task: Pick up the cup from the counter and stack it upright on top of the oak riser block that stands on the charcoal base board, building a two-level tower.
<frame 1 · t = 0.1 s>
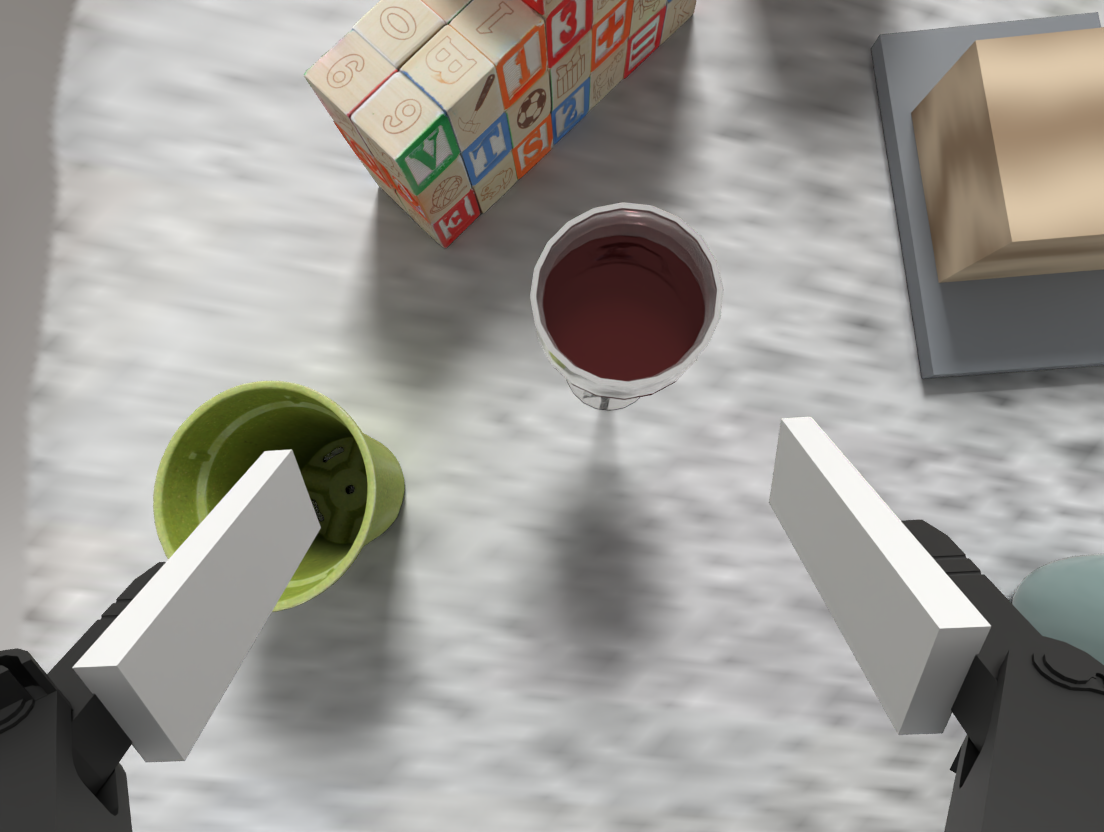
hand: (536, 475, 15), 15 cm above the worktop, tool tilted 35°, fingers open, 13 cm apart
wineglass: (608, 367, 31), on the worktop
cup: (1056, 618, 28), on the worktop
stack of blocks: (537, 102, 33), on the worktop
base board: (1004, 197, 30), on the worktop
oak riser: (1018, 187, 29), point 1 cm above the worktop, touching base board
plant pot: (353, 490, 31), on the worktop
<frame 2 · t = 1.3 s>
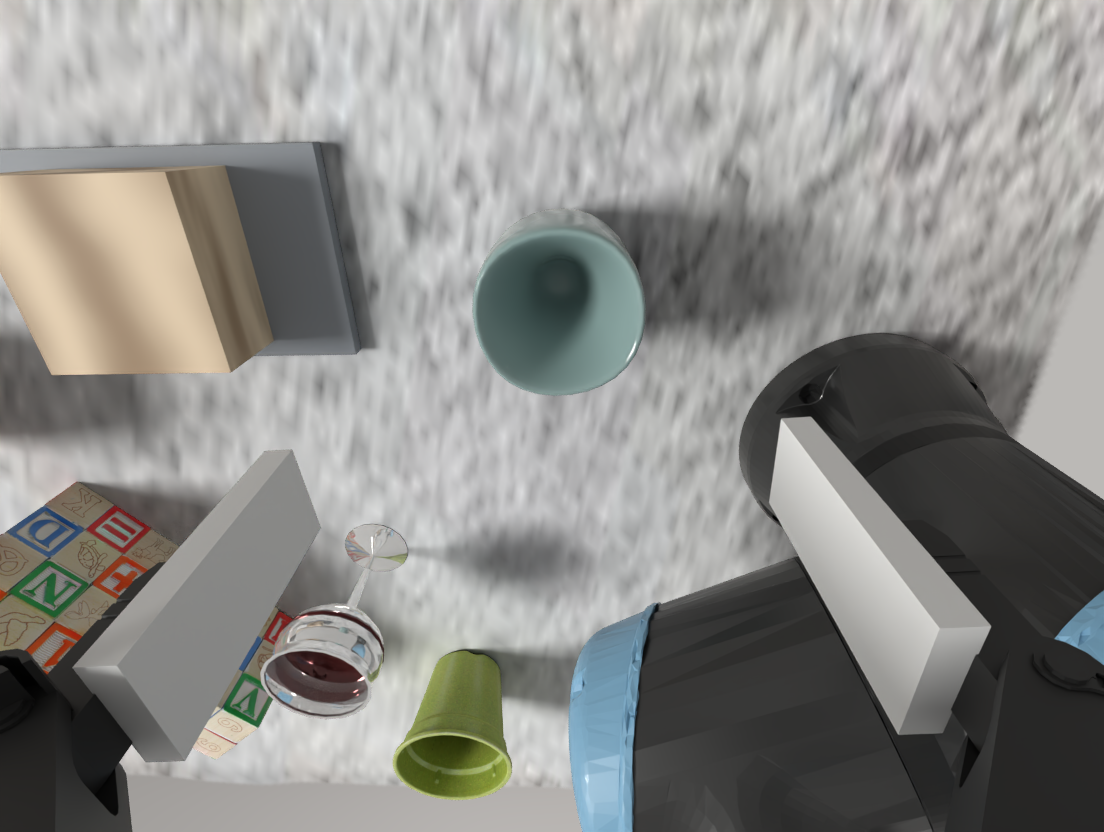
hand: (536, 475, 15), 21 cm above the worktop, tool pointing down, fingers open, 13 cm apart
wineglass: (377, 546, 43), on the worktop
cup: (559, 266, 33), on the worktop
stack of blocks: (185, 575, 45), on the worktop
base board: (177, 257, 32), on the worktop
oak riser: (167, 261, 31), point 1 cm above the worktop, touching base board
plant pot: (469, 669, 50), on the worktop
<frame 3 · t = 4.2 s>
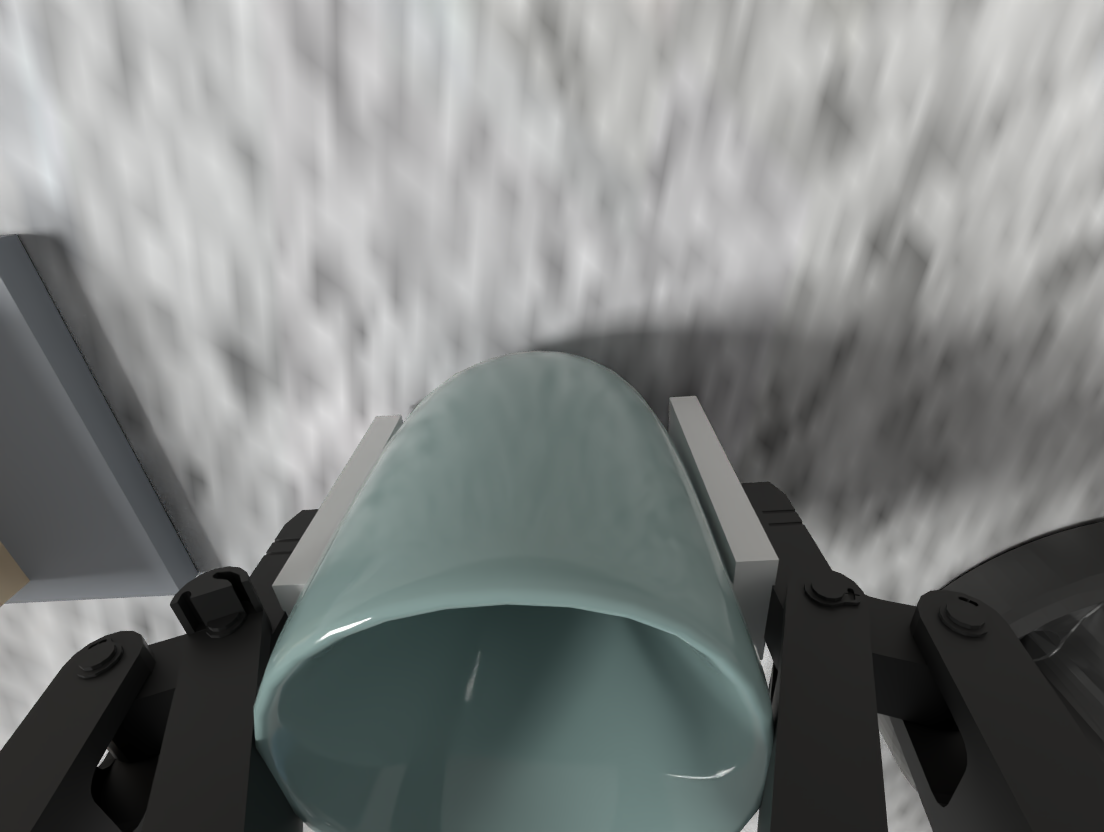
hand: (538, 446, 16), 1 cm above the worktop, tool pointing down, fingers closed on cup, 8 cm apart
cup: (539, 430, 17), on the worktop, touching gripper
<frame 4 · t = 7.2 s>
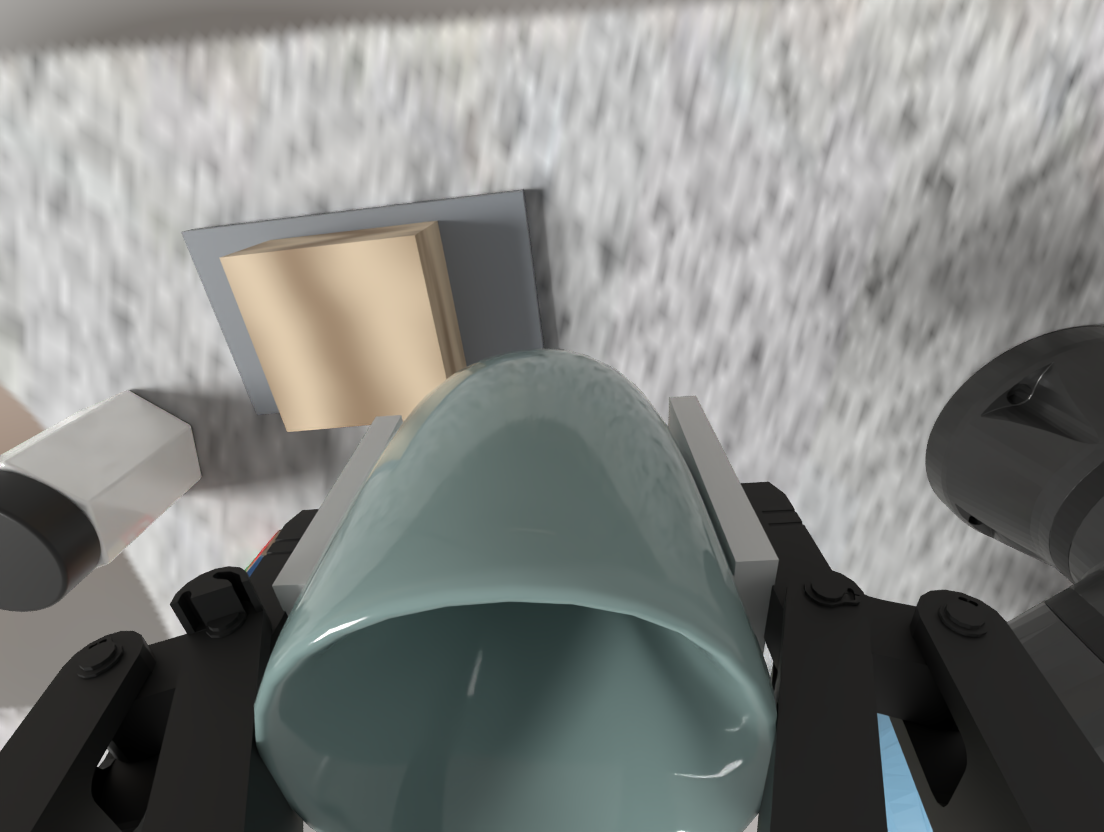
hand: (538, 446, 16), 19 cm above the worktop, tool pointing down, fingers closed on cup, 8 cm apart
cup: (540, 429, 17), point 18 cm above the worktop, touching gripper
base board: (380, 310, 34), on the worktop
oak riser: (375, 315, 33), point 1 cm above the worktop, touching base board
jar: (145, 442, 39), on the worktop
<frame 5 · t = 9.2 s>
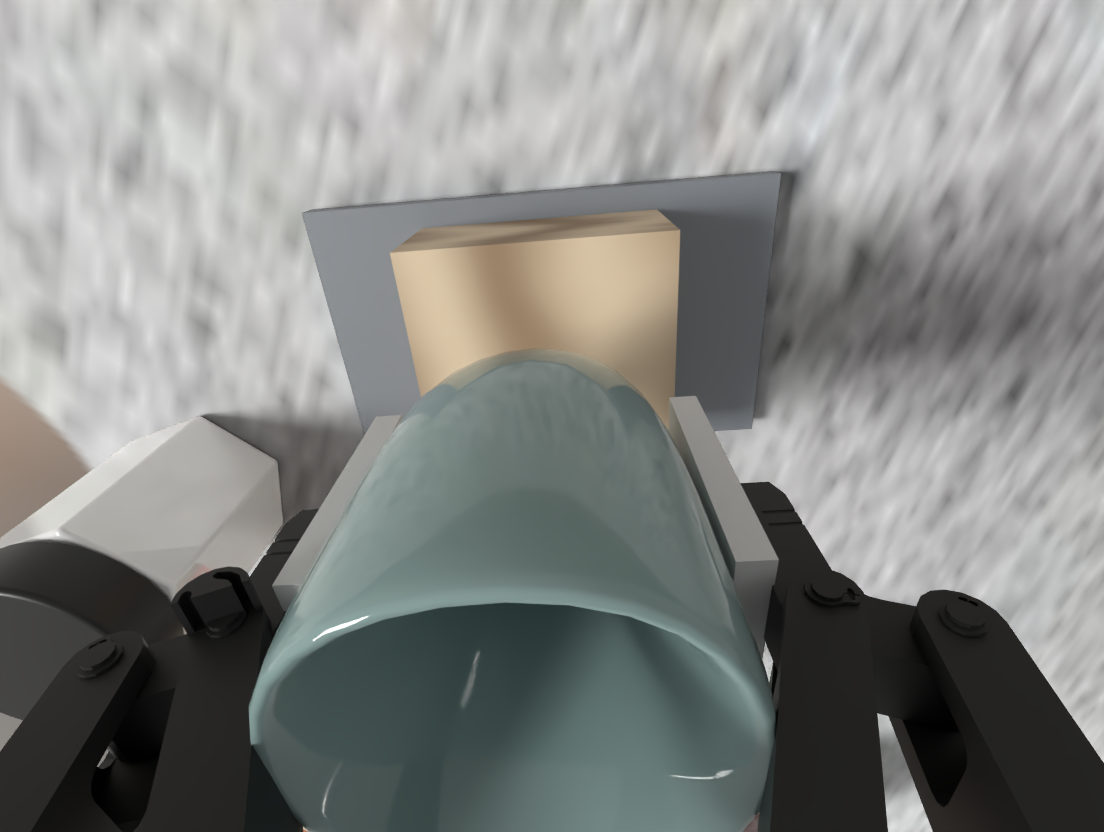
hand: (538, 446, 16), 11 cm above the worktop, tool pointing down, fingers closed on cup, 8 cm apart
cup: (539, 429, 17), point 10 cm above the worktop, touching gripper
base board: (548, 324, 26), on the worktop
oak riser: (547, 331, 25), point 1 cm above the worktop, touching base board
jar: (214, 479, 31), on the worktop
when the fingers open (9 cm above the worktop, at t = 10.5 s): cup drops 2 cm, resting on oak riser.
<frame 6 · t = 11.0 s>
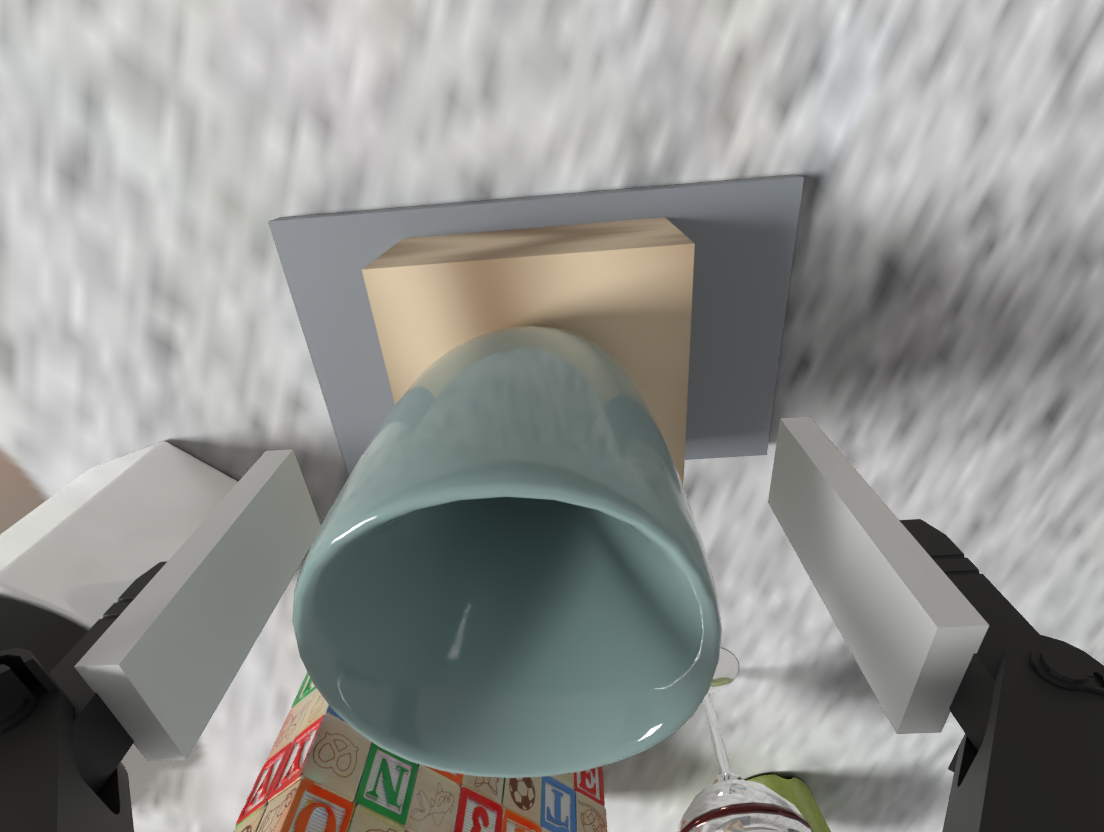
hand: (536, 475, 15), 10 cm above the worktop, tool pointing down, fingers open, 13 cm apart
wineglass: (698, 668, 34), on the worktop
cup: (531, 403, 19), point 6 cm above the worktop, touching oak riser
stack of blocks: (466, 711, 37), on the worktop
base board: (544, 342, 24), on the worktop
oak riser: (543, 350, 23), point 1 cm above the worktop, touching base board, cup
jar: (183, 508, 29), on the worktop
plant pot: (766, 791, 41), on the worktop
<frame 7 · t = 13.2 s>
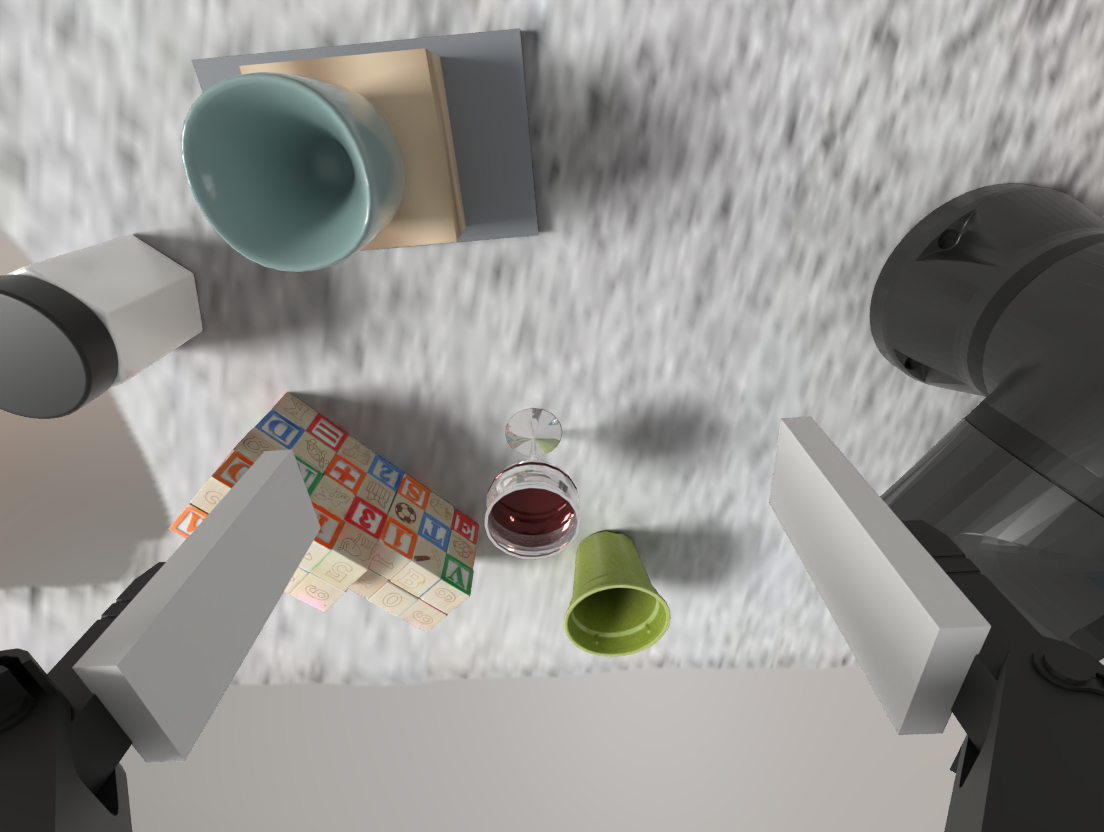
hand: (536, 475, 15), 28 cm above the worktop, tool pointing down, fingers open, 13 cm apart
wineglass: (533, 431, 48), on the worktop
cup: (352, 160, 31), point 6 cm above the worktop, touching oak riser
stack of blocks: (372, 480, 50), on the worktop
base board: (382, 153, 36), on the worktop
oak riser: (378, 154, 35), point 1 cm above the worktop, touching base board, cup
jar: (147, 293, 41), on the worktop
plant pot: (606, 551, 55), on the worktop
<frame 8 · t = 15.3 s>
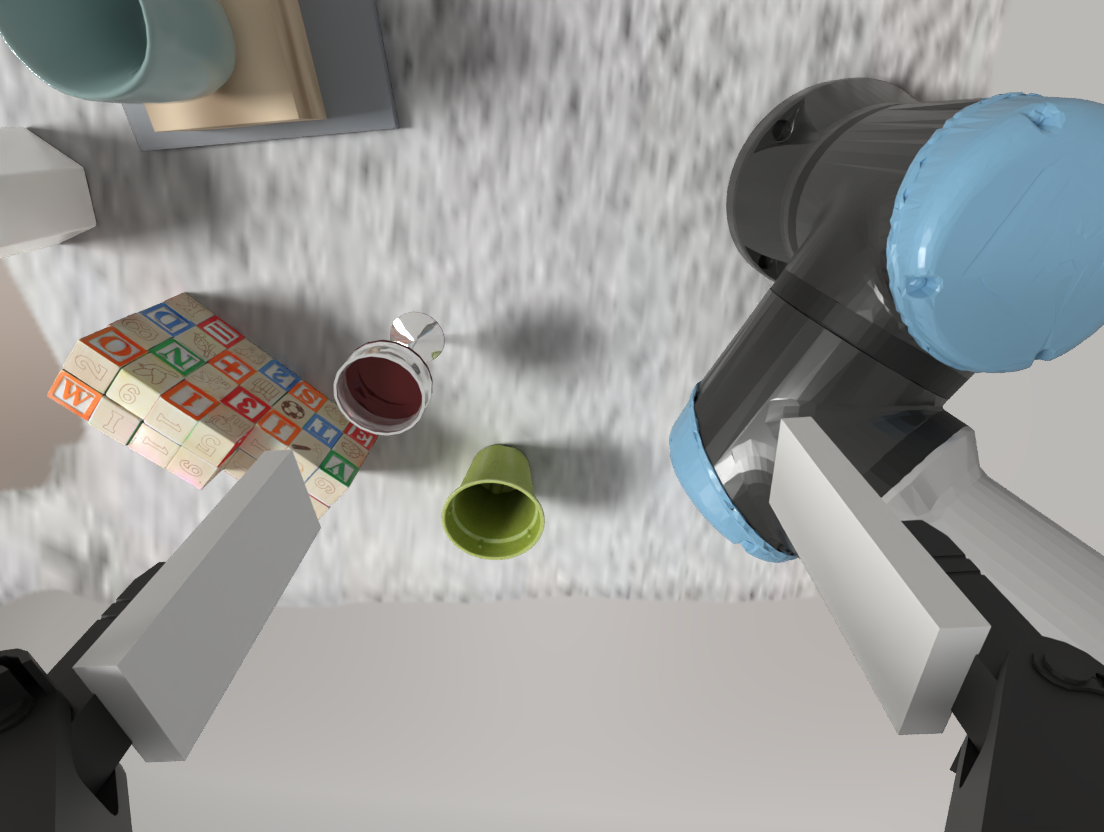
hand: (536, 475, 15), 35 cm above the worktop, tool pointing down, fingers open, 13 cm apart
wineglass: (417, 337, 50), on the worktop
cup: (194, 36, 34), point 6 cm above the worktop, touching oak riser
stack of blocks: (273, 387, 53), on the worktop
base board: (245, 46, 39), on the worktop
oak riser: (238, 45, 38), point 1 cm above the worktop, touching base board, cup
jar: (44, 188, 44), on the worktop
plant pot: (501, 467, 57), on the worktop
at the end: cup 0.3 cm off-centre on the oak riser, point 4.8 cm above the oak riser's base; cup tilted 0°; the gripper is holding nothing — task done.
